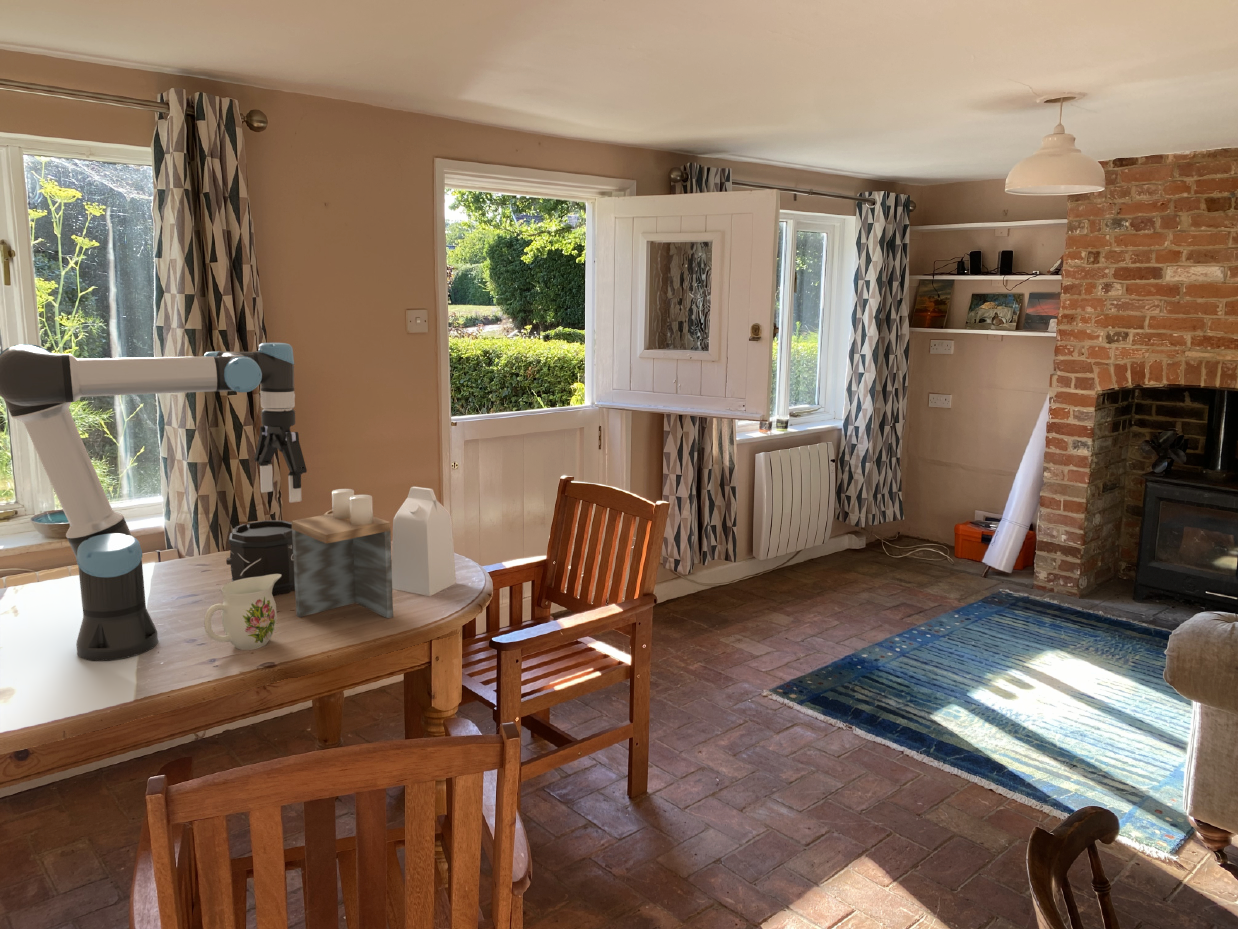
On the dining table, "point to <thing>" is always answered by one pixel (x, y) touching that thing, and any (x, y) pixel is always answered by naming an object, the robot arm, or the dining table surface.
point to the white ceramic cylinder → (341, 503)
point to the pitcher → (246, 612)
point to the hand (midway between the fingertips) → (280, 496)
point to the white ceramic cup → (361, 510)
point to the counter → (342, 565)
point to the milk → (422, 545)
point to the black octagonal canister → (263, 553)
